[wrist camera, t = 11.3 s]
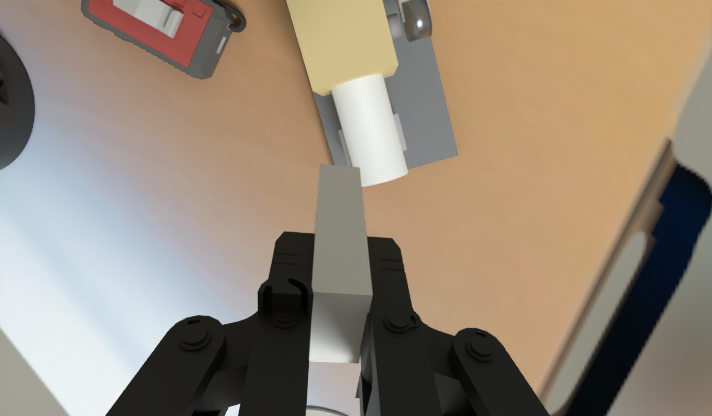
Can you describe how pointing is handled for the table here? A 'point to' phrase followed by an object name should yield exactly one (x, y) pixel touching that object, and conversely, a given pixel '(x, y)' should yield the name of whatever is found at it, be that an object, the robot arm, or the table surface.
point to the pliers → (321, 412)
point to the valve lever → (415, 18)
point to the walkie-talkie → (170, 29)
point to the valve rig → (373, 87)
